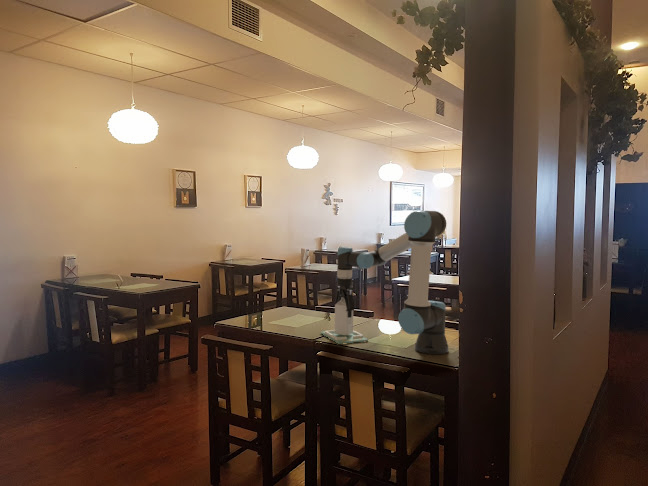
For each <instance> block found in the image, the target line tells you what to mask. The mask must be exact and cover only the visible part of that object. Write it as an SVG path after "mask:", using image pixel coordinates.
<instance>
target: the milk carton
mask: <svg viewBox="0 0 648 486" xmlns="http://www.w3.org/2000/svg"><path fill="white" fill-rule="evenodd" d="M346 310H347V308H346V303H345V299H344V298H343V297H341V300H340V301H339V302H338V303H336V304H335V303H334V330H335V334H340V335H349V334H351V333H353V330H354V310H352V320H351V324H346Z"/></svg>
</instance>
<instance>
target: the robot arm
mask: <svg viewBox="0 0 648 486" xmlns="http://www.w3.org/2000/svg"><path fill="white" fill-rule="evenodd" d="M403 229H404V232H405V233H403V234H402V235H399V236H398V237H396V238H394V239H393V240H391V241H389V242H388V243H386V244H384V245H383V246H381V247H378V248H377V249H376V250H373V251H364V252H363V251H362V252H361V251H359V252H357V251H354V249H353V248H352V247H350V246H340V247H338V248H337V256H336V257H337V267H336V268H337V269H336V270H337V271H336V276H337V278H336V285H337V286H336V294H335V298H334V300H335V301H334V305H335V304H336V303H338V302H339V301H340V300H341V297H343V298H344V299H345V303H346V308H347V310H346V324H351V320H352V310H353V311H354V310H355V305H354V296H353V295H354V294H353V293H354V291H353V290H352V289H350V287H351V286H352V285H353V278H352V277H353V268H360V269H363V270H364V269H371V268H372V267H381V266H384V265H386V264H387V262H388V261H390V260H391V259H393V258H395V257H397V256H399V255H401V254H403V253H404V252H406V251H409V250H410V261H409V263H410V264H409V276H408V277H409V279H408V281H409V282H408V295H407V299H406V300H404V303H403V309H402V310H401V311H400V312H399V314H398V318H397V319H398V324H399V326H400V328H401V329H402V330H403V332H405V333H407V334H409V335H417V338H416V341H415V344H414V349H415V351H416V352H418V351H419V353H421V352H422V353H421V354H427V355H444V354H447V353H449V345H448V341H447V338H446V312H447V310H446V304H445V303H444V302H443V301H436V300H429V286H430V272H431V271H430V270H431V259H432V258H431V257H432V247H433V245H434V244H436V238H437V237H439V236H441V235H442V234H443V233H444V232H445V230H446V229H447V220H446V218H445V215H444V214H443V213H441V212H439V211H436V210H415V211H412V212H410V214H408V215H407V216H406V218H405V220H404V223H403Z"/></svg>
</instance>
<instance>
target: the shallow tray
mask: <svg viewBox="0 0 648 486" xmlns="http://www.w3.org/2000/svg"><path fill="white" fill-rule="evenodd" d="M322 334H323V335H324V336H323V335H322ZM320 335H322V336H323V337H325V336H326V337H328V338H330V339H331V340H333V341H335V342H336V343H338V344H343V343H352V344H354V343H353V342H361V343H365V342H364V341H368V342H369V339H368V338H367V337H364V335H363V334H362V333H360V332H358V331H356V330H354V329H353V333H351V334H349V335H340V334H335V329H331V330H324V331H320ZM326 337H325V338H326ZM328 338H327V339H328ZM330 339H329V340H330ZM331 340H330V341H331ZM333 341H332V342H333ZM335 342H334V343H335ZM336 343H335V344H336ZM338 344H337V345H338ZM343 345H344V344H343Z"/></svg>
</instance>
